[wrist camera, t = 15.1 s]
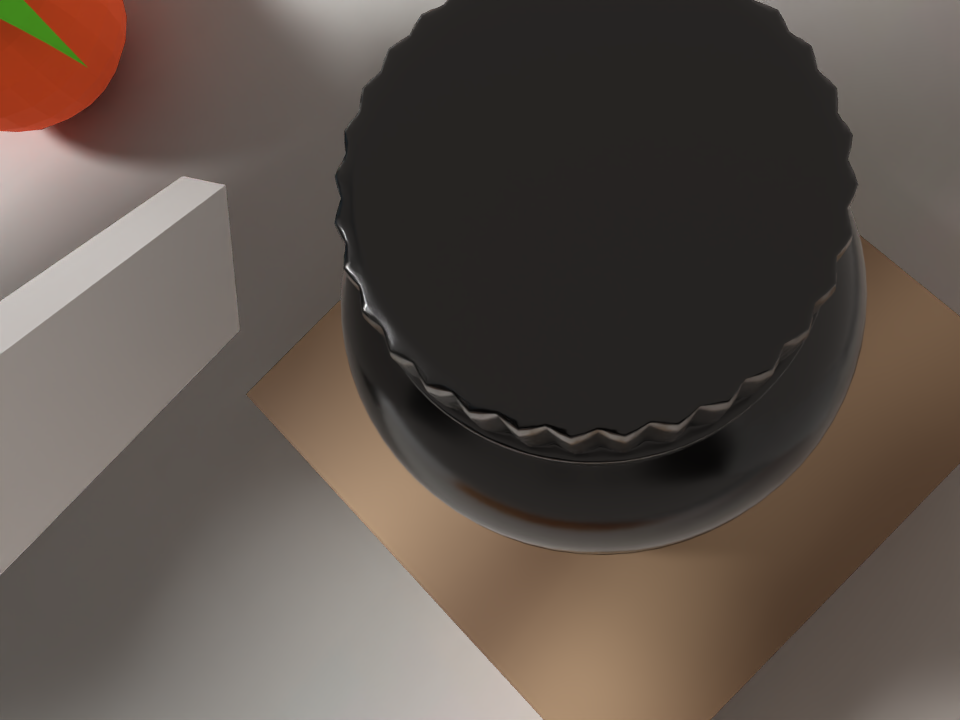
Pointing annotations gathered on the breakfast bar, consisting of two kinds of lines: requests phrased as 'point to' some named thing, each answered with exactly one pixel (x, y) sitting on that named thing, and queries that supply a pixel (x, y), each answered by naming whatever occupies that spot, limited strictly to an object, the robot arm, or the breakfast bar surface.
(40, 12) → the clementine
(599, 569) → the walnut block
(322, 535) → the breakfast bar surface
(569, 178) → the supplement bottle
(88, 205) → the breakfast bar surface
